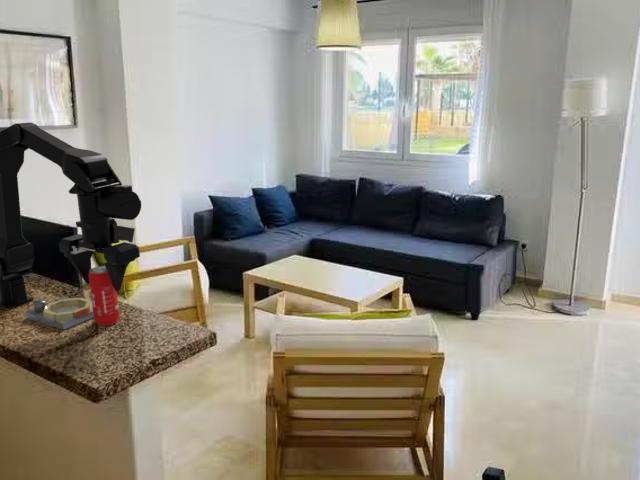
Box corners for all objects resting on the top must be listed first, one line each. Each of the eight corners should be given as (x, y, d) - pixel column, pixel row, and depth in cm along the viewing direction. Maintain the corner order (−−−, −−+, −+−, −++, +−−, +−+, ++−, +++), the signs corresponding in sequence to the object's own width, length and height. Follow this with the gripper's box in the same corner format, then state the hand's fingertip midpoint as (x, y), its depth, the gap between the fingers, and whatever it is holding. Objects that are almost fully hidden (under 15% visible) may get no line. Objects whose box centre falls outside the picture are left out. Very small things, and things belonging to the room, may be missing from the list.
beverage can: (111, 327, 121) (105, 273, 118) (89, 325, 122) (82, 272, 119) (124, 317, 126) (118, 266, 123) (103, 316, 127) (97, 264, 124)
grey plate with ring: (26, 318, 126) (24, 303, 126) (66, 303, 135) (64, 289, 134) (63, 330, 120) (61, 314, 119) (103, 313, 128) (101, 299, 127)
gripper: (156, 212, 120) (162, 282, 124) (97, 204, 129) (104, 269, 133) (113, 223, 111) (121, 299, 115) (52, 214, 120) (62, 284, 124)
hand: (103, 286), depth 122 cm, fingers open, 9 cm apart
